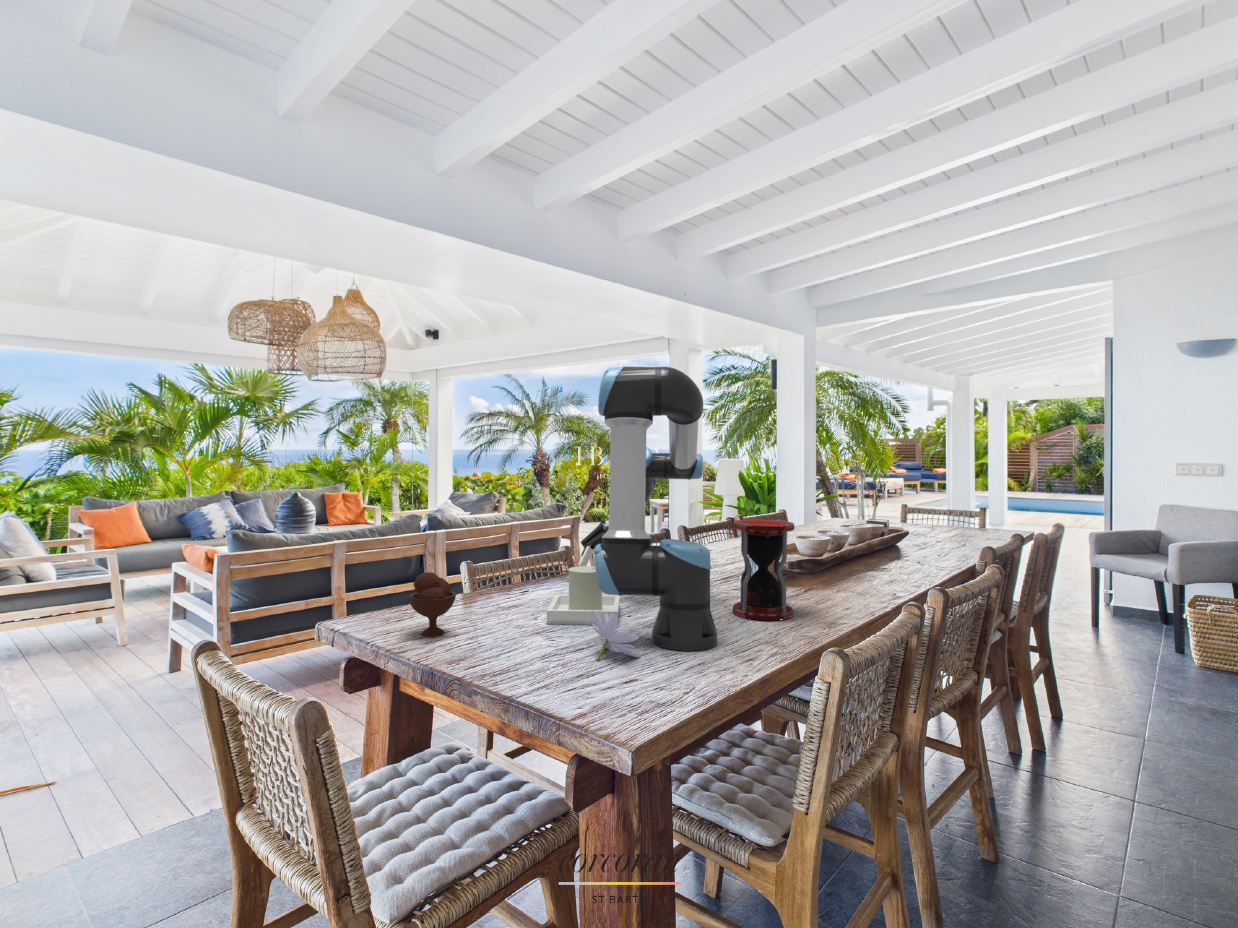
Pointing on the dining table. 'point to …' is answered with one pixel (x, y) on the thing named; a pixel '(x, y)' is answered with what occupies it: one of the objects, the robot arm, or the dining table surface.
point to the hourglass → (763, 569)
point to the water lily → (613, 635)
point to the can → (584, 589)
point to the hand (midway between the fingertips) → (601, 569)
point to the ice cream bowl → (431, 600)
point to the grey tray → (580, 611)
